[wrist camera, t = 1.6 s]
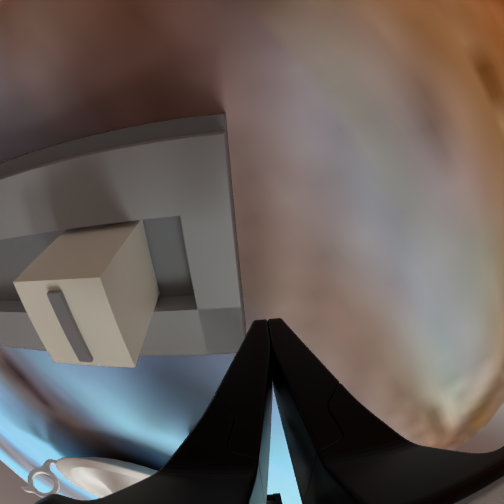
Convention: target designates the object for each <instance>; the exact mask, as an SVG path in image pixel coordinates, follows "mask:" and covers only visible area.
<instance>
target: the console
mask: <svg viewBox="0 0 504 504" xmlns="http://www.w3.org/2000/svg"><path fill="white" fill-rule="evenodd" d="M135 220H143V224H144V229H145V233H146V238H147V242H148V247H149V251H150V256H151V260H152V264H153V268H154V272H155V276H156V280H157V284H158V288H159V292H160V294H159V297H158V300H157V303H156V306H155V309H154V312H153V315H152V317H151V320H150V323H149V326H148V329H147V333H146V336H145V339H144V342H143V345H142V348H141V351H140V354H139V356H177V355H210V354H229V353H237V352H238V350H239V348H240V346H241V344H242V342H243V340H244V338H245V336H246V323H245V314H244V304H243V294H242V285H241V275H240V265H239V255H238V244H237V234H236V224H235V213H234V202H233V192H232V181H231V169H230V158H229V147H228V135H227V123H226V113H222V114H212V115H203V116H195V117H187V118H180V119H173V120H166V121H160V122H154V123H148V124H143V125H137V126H132V127H127V128H122V129H117V130H113V131H108V132H104V133H99V134H95V135H91V136H87V137H83V138H79V139H75V140H71V141H68V142H64V143H61V144H57V145H54V146H50V147H47V148H44V149H40V150H37V151H34V152H31V153H28V154H25V155H22V156H19V157H16V158H13V159H11V160H8V161H5V162H2V163H0V345H1V346H8V347H16V348H24V349H33V350H43V351H47V350H46V348H45V346H44V345H43V343H42V341H41V339H40V337H39V335H38V334H37V332H36V330H35V328H34V326H33V324H32V322H31V320H30V318H29V316H28V314H27V312H26V310H25V308H24V306H23V303H22V301H21V299H20V297H19V295H18V293H17V290H16V288H15V286H14V283H13V282H14V280H15V279H16V278H17V277H18V276H19V275H20V274H21V273H22V272H23V271H24V270H25V269H26V268H27V267H28V266H29V265H30V264H31V263H32V262H33V261H34V260H35V259H36V258H37V257H38V256H39V255H40V254H41V253H42V252H43V251H44V250H45V249H46V248H47V247H48V246H49V245H50V244H51V243H52V242H54V241H55V240H56V239H57V238H58V237H59V236H60V235H61V234H62V233H63V232H64V231H65V230H67V229H73V228H80V227H87V226H95V225H103V224H110V223H119V222H127V221H135Z"/></svg>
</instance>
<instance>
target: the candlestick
mask: <svg viewBox="0 0 504 504" xmlns="http://www.w3.org/2000/svg"><path fill="white" fill-rule="evenodd" d="M52 464H54V465H56V467H57V469H58V470H59V472H60V473H61V474H62V475H63V476H64V477H65V478H67V479H68V480H69V481H70V482H72V483H73V484H75V485H76V486H78V487H80V488H81V489H83V490H85V491H87V492H89V493H91V494H93V495H95V496H97V497H100V498H102V497H105V496H108V495H110V494H112V493H115V492H117V491H119V490H122V489H124V488H126V487H128V486H131V485H133V484H135V483H137V482H139V481H141V480H143V479H145V478H147V477H149V476H151V475H153V474H154V473H156V472H157V470H154V469H150V468H148V467H145V466H141V465H137V464H134V463H130V462H125V461H121V460H117V459H110V458H100V457H81V458H72V457H67V458H61V459H58V460H57V461H56V460H53V459H48V460H46V461H45V463H44V464H43V466H41V467H39V468H36V469H33V470H32V471H31V472H30V473H29V475H28V486H27V487H21V488H22V489H23V490H24V491H26V492H32V493H35V494H36V495H38V496H40V497H42V498H43V497H45V496H47V495H49V494H58V492H59V488H60V485H59V481H58V479H57V477H56V476H55V475H54V474H53V473H52V472H51V470H50V466H51V465H52ZM40 473H44V474H47V475H49V476H51V477H52V479H53V481H54V488H53V490H52V491H51V492H49V493H42V492H39V491H38V490H37V489H36V488H35V487H34V483H33V479H34V477H35V476H36V475H37V474H40Z"/></svg>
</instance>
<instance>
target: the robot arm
mask: <svg viewBox="0 0 504 504" xmlns="http://www.w3.org/2000/svg"><path fill="white" fill-rule="evenodd" d="M272 382H273V386H272ZM273 388H274V393H275V397H276V401H277V405H278V409H279V413H280V417H281V421H282V425H283V429H284V433H285V437H286V441H287V445H288V449H289V453H290V457H291V461H292V465H293V469H294V473H295V477H296V481H297V485H298V489H299V493H300V497H301V501H302V504H504V446H503V447H501V448H500V449H498V450H495V451H492V452H488V453H467V452H459V451H452V450H445V449H438V448H432V447H426V446H421V445H418V444H415V443H413V442H410V441H409V440H407V439H405V438H404V437H402V436H401V435H399V434H398V433H397V432H395V431H394V430H393V429H392V428H390V427H389V426H388V425H387V424H385V423H384V422H383V421H381V420H380V419H379V418H378V417H376V416H375V415H374V414H373V413H371V412H370V411H369V410H368V409H367V408H366V407H364V406H363V405H362V404H361V403H360V402H359V401H358V400H357V399H355V398H354V397H353V396H352V395H351V394H350V393H349V392H348V391H347V389H346V388H345V387H344V386H343V385H342V384H341V383H339V381H338V380H337V379H336V378H335V377H334V376H333V375H332V373H331V372H330V371H329V370H328V369H327V368H326V367H325V366H324V365H323V364H322V363H321V362H320V360H319V359H318V358H317V357H316V356H315V355H314V354H313V353H312V352H311V351H310V350H309V348H308V347H307V346H306V345H305V344H304V343H303V342H302V341H301V340H300V339H299V338H298V336H297V335H296V334H295V333H294V332H293V331H292V330H291V329H290V328H289V327H288V325H287V324H286V323H285V322H284V321H283V320H282V319H281V318H276V319H269V320H268V322H267V320H265V319H264V320H255V321H253V323H252V325H251V327H250V329H249V331H248V333H247V334H246V336H245V338H244V340H243V342H242V344H241V346H240V348H239V350H238V352H237V354H236V356H235V357H234V359H233V361H232V363H231V365H230V367H229V369H228V371H227V373H226V374H225V376H224V378H223V380H222V382H221V384H220V386H219V387H218V389H217V391H216V393H215V396H213V398H212V400H211V402H210V404H209V406H208V407H207V409H206V411H205V412H204V414H203V416H202V417H201V419H200V420H199V422H198V423H197V424H196V426H195V427H194V429H193V430H192V431H191V432H190V433H189V435H188V436H187V438H186V439H185V440H184V442H183V443H182V444H181V445H180V447H179V448H178V449H177V450H176V452H175V453H174V454H173V455H172V457H171V458H170V459H169V460H168V462H167V463H166V464H165V465H164V466H163V467H162V468H161V469H160V470H158V471H157V472H156V473H154V474H153V475H151V476H149V477H147V478H145V479H143V480H141V481H139V482H137V483H135V484H133V485H131V486H128V487H126V488H124V489H122V490H119V491H117V492H115V493H112V494H110V495H108V496H105V497H102V498H99V499H96V500H76V499H72V498H69V497H66V496H62V495H59V494H49V495H47V496H45V497H43V498H42V499H40V500H38V501H37V502H36V503H35V504H282V500H281V496H280V493H276V494H273V495H267V484H268V468H269V451H270V433H271V414H272V389H273Z"/></svg>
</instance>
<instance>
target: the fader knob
mask: <svg viewBox="0 0 504 504" xmlns="http://www.w3.org/2000/svg"><path fill="white" fill-rule="evenodd" d="M13 283H14V286H15V288H16V290H17V293H18V295H19V297H20V299H21V301H22V303H23V306H24V308H25V310H26V312H27V314H28V316H29V318H30V320H31V322H32V324H33V326H34V328H35V330H36V332H37V334H38V335H39V337H40V339H41V341H42V343H43V345H44V346H45V348H46V350H47V352H48V353H49V355H50V357H51V358H52V360H53V362H58V363H68V364H79V365H93V366H109V367H136V364H137V361H138V358H139V354H140V351H141V348H142V345H143V342H144V339H145V336H146V333H147V329H148V326H149V323H150V320H151V317H152V315H153V312H154V309H155V306H156V303H157V300H158V297H159V294H160V292H159V288H158V284H157V280H156V276H155V272H154V268H153V264H152V260H151V256H150V251H149V247H148V242H147V238H146V233H145V229H144V224H143V220H135V221H127V222H119V223H110V224H103V225H95V226H87V227H80V228H73V229H67V230H65V231H64V232H63V233H62V234H61V235H60V236H59V237H58V238H57V239H56V240H55V241H54V242H52V243H51V244H50V245H49V246H48V247H47V248H46V249H45V250H44V251H43V252H42V253H41V254H40V255H39V256H38V257H37V258H36V259H35V260H34V261H33V262H32V263H31V264H30V265H29V266H28V267H27V268H26V269H25V270H24V271H23V272H22V273H21V274H20V275H19V276H18V277H17V278H16V279H15V280H14V282H13Z"/></svg>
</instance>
